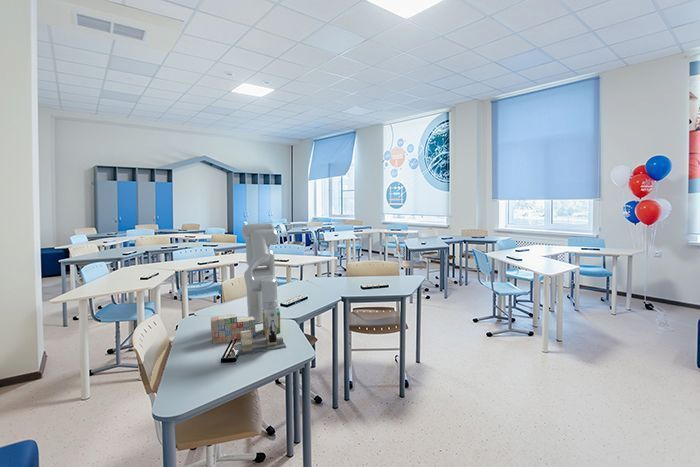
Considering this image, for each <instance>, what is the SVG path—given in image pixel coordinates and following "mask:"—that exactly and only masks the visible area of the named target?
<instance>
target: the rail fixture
mask: <svg viewBox="0 0 700 467" xmlns="http://www.w3.org/2000/svg"><path fill="white" fill-rule="evenodd" d="M240 333H241V339H240V343H237V344H234V345H233V347H234V349H235V350H239V352H238V356H237V357H239V356H244V355H249V354H250V355H251V354H255V353H260V352H261V353H262V352H267V351H273V350H279V349H284V348H287V346H286V344H285V342H284V337H282V336H280V337H277V344H274V345H268V340H267V339H266V338H265V339H262V340H256V341H253V340H254V339H253V337H252V332H251V331H250V330H247V331H241V332H240Z"/></svg>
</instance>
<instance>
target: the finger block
mask: <svg viewBox="0 0 700 467" xmlns="http://www.w3.org/2000/svg"><path fill="white" fill-rule="evenodd" d="M270 328H272V327H270ZM271 331H272V329H271ZM275 332H276V342H273V343H270V342H269V335H270V333H269V329H268V328H267V326H265V334H264V337H265V340H266V339H267V340H268V345H274V344H277V338H278V337H277V336H278V333H277V329H276V327H275Z"/></svg>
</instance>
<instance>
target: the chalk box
mask: <svg viewBox="0 0 700 467" xmlns="http://www.w3.org/2000/svg"><path fill="white" fill-rule="evenodd" d="M276 310H277V318H278V328H276V329H277V334H281V311H280V307H277V308H276ZM265 326H266V324H265V313H264V309H263V322H262V327H263V328H262V334H263V335H265Z"/></svg>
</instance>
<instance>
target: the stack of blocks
mask: <svg viewBox="0 0 700 467" xmlns="http://www.w3.org/2000/svg"><path fill="white" fill-rule="evenodd" d="M210 327H211V340H212V344H219V343H226V342H232V341H234V340H233V339H238V340H241V339H240V338H241V333H240V332H241V331H247V330H250V331H251V332H252V338H253V337H256V324H255V319H254V318H253V316H252V317H248V316H245V317H241V318H238V316H237V314H236V313H229V314H224V315H219V316H212V317H210ZM231 340H232V341H231Z"/></svg>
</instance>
